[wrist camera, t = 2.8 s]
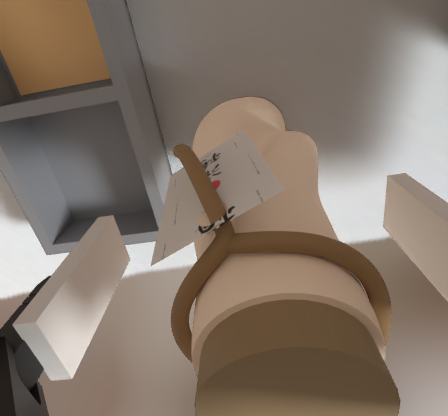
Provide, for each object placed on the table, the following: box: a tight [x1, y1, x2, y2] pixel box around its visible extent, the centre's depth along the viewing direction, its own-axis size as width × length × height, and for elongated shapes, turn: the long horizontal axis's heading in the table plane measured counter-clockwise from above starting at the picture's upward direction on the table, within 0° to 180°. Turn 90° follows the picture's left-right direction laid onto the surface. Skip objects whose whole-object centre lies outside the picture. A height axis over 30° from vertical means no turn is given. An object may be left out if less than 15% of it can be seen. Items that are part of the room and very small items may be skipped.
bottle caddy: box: [0, 0, 172, 255], centre depth 28 cm, size 14×30×6 cm, turn 10°
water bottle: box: [151, 97, 400, 416], centre depth 20 cm, size 10×9×28 cm
